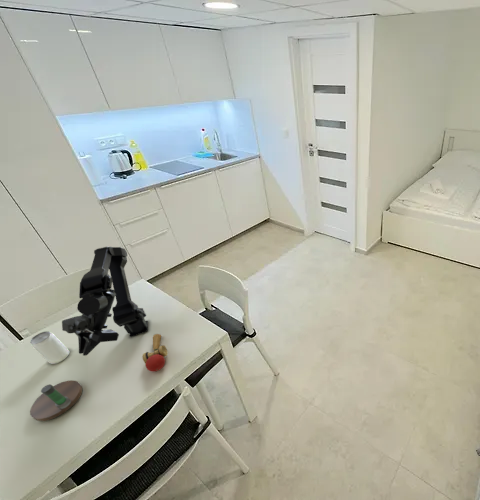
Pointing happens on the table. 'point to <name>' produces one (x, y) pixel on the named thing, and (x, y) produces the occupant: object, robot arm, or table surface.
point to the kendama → (155, 355)
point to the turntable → (55, 400)
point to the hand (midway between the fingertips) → (82, 354)
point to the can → (49, 347)
